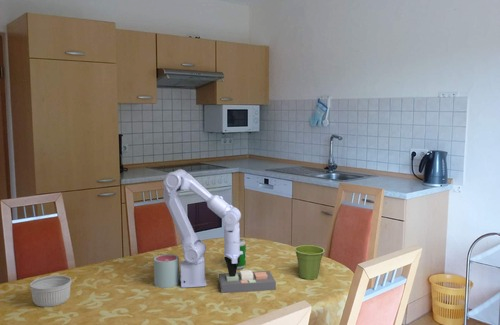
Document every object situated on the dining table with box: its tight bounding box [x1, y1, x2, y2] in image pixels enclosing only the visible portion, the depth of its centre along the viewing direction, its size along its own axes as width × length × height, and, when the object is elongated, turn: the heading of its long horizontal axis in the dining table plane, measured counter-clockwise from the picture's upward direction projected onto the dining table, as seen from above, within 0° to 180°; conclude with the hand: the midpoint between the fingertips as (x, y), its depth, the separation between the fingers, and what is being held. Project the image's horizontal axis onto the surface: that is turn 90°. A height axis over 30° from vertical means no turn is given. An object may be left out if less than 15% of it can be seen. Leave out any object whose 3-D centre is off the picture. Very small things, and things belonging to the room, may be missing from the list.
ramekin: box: [29, 274, 72, 308], centre depth 159 cm, size 13×13×7 cm
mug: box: [153, 253, 180, 289], centre depth 177 cm, size 14×9×10 cm
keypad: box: [218, 270, 277, 294], centre depth 173 cm, size 20×12×3 cm, turn 99°
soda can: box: [236, 237, 247, 271], centre depth 192 cm, size 8×8×12 cm
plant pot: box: [294, 244, 325, 280], centre depth 182 cm, size 12×12×11 cm
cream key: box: [239, 269, 253, 280], centre depth 173 cm, size 4×4×4 cm
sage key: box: [226, 274, 239, 281], centre depth 172 cm, size 4×4×4 cm
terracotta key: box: [254, 271, 268, 280], centre depth 174 cm, size 4×4×4 cm
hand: (232, 276), depth 172 cm, fingers closed, pressing on sage key
